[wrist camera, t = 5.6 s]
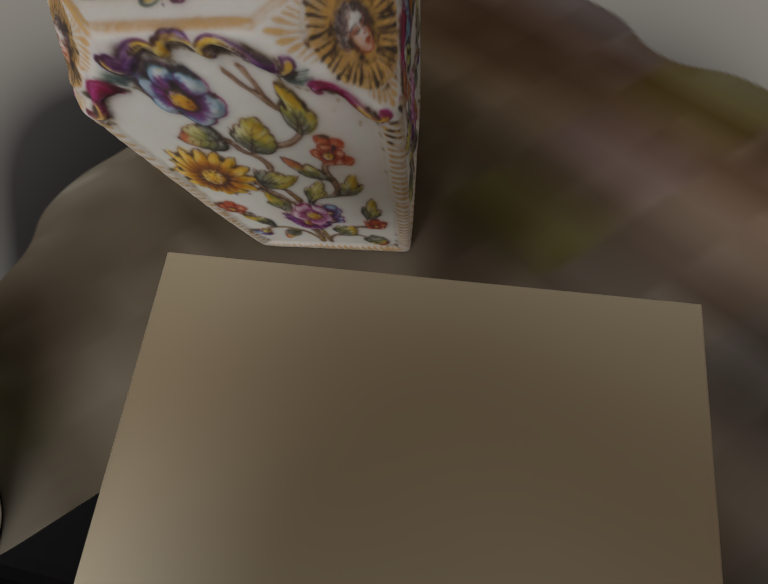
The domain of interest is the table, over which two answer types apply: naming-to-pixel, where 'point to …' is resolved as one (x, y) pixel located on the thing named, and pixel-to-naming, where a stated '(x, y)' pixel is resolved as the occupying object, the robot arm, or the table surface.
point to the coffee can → (0, 514)
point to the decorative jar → (263, 107)
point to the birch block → (406, 435)
